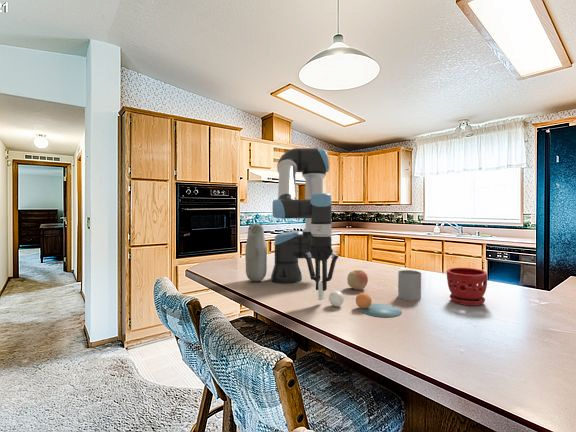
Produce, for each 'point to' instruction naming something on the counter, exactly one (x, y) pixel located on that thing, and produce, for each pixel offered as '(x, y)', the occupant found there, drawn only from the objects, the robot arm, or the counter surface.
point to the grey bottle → (256, 253)
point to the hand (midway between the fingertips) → (321, 299)
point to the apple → (357, 279)
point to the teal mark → (382, 310)
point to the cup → (409, 285)
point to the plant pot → (467, 285)
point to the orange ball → (363, 300)
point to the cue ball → (336, 298)
